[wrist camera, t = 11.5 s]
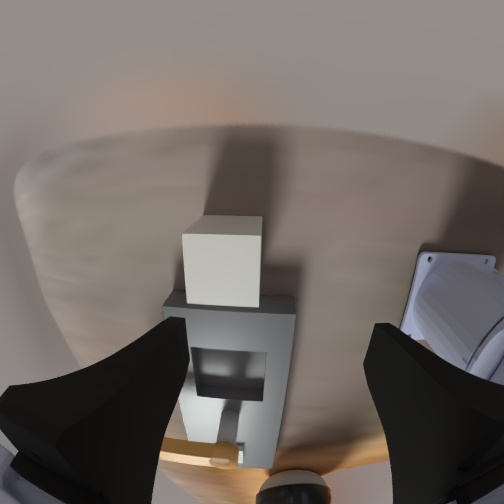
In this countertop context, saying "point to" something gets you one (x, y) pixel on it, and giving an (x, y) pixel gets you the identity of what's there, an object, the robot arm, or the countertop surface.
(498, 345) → the robot arm
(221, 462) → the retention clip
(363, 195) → the countertop surface
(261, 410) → the grey recessed block
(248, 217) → the plug
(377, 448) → the countertop surface
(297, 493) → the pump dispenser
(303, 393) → the countertop surface
